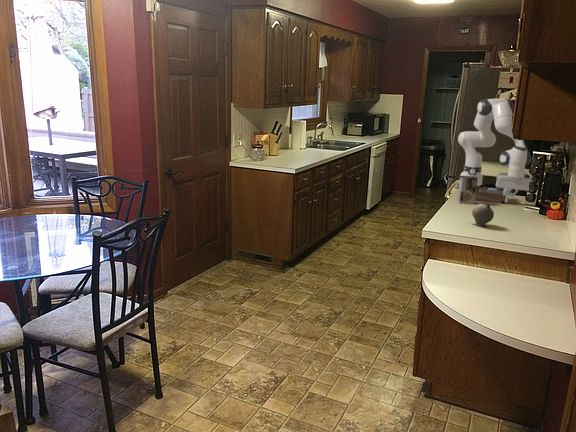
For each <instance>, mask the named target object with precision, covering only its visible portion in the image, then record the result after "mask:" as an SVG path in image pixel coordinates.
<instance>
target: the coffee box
mask: <svg viewBox="0 0 576 432" xmlns="http://www.w3.org/2000/svg"><path fill="white" fill-rule="evenodd" d="M477 179H478V178H477V177H475V176H460V175H459V181H458V182H459V185H458V191H457V197H456V201H457V203H458V204H469V205H470V204H471V205H475V202H476V201H475V194H476V187H477Z"/></svg>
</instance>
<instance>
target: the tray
mask: <svg viewBox="0 0 576 432" xmlns="http://www.w3.org/2000/svg"><path fill="white" fill-rule="evenodd" d="M479 191H480V192H488V190H486V189H479ZM497 193H500V194H503V197H502V202H504V203H508V200H509V196H510V192H509V189H505V188H503V190H501V191H497Z"/></svg>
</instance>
